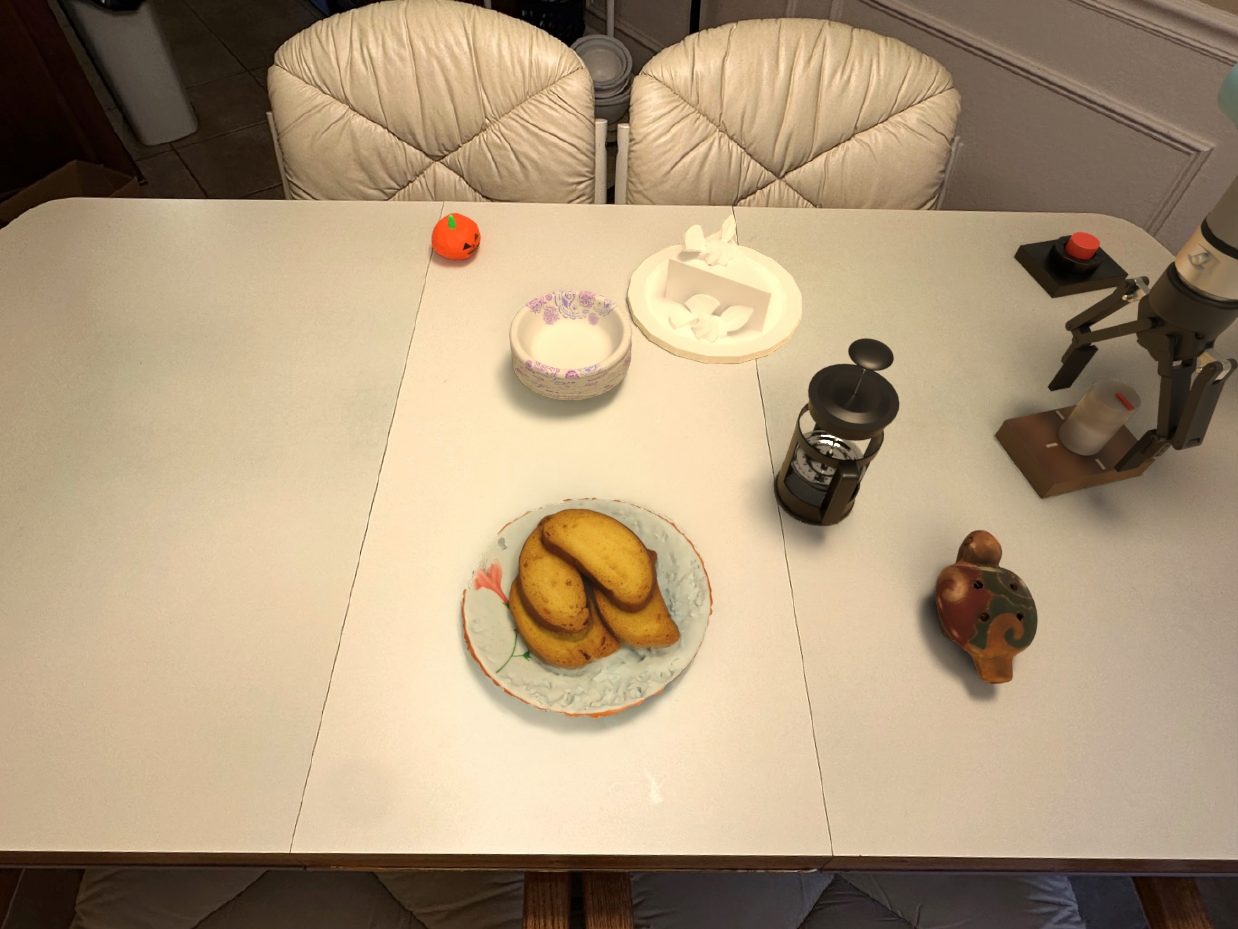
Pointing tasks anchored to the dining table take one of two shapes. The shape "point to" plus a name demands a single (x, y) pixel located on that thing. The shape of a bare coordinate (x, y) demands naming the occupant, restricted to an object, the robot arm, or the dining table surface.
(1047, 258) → the button housing
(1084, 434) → the dial
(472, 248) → the pumpkin
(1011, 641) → the painted clay ocarina
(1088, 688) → the dining table surface
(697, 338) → the dish
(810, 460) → the french press
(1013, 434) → the dial panel
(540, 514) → the food on plate
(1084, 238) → the push knob
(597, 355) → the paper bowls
